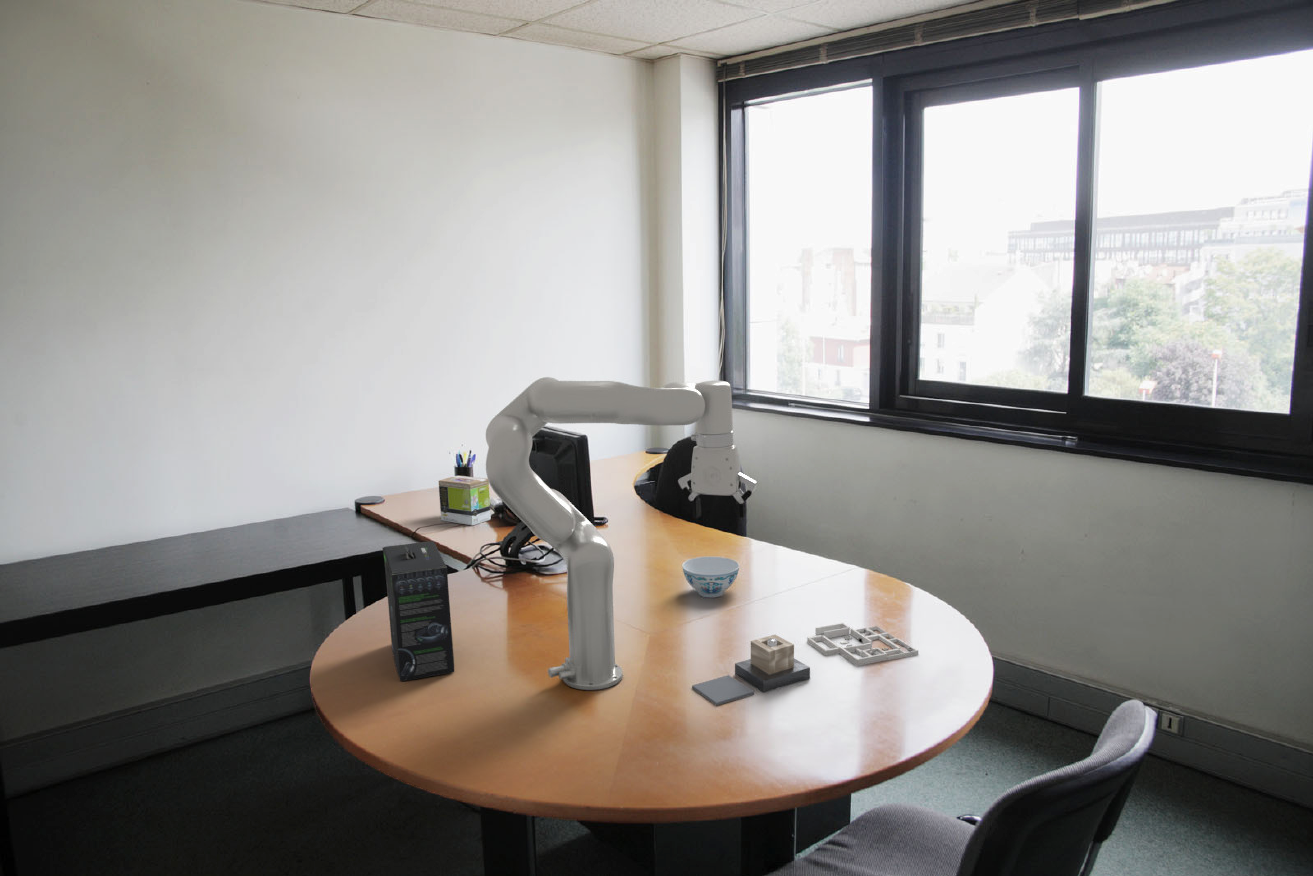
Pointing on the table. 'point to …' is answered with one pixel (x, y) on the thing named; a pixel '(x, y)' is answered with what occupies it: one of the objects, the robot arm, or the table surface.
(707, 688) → the mat
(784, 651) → the collar
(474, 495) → the tea box
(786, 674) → the post stand
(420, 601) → the headset box
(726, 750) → the table surface
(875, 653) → the floor plan model
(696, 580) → the chinaware
